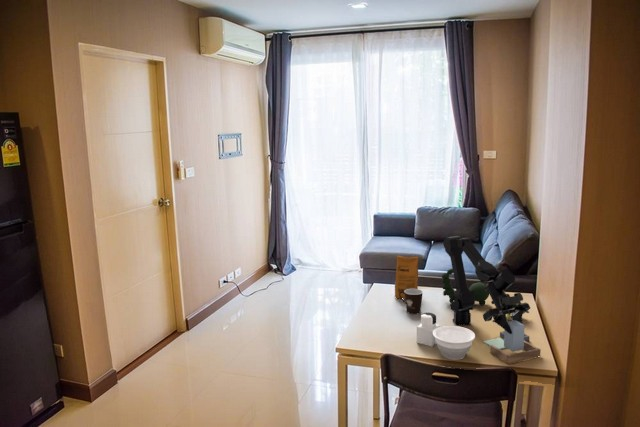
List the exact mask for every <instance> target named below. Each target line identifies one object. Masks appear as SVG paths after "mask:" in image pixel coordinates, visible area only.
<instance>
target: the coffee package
mask: <svg viewBox="0 0 640 427" xmlns="http://www.w3.org/2000/svg"><path fill="white" fill-rule="evenodd" d="M418 266H419V257H418V256H409V257H406V256H402V255H397V258H396V271H395V281H394V297H396V298H400V296H399V293H400V292H401V291H403V292H404V291H405V290H407V289H419V288H418V283H419V281H418V280H419V267H418ZM400 295H401V297H402V298H403V300H405V294H404V293H401V294H400ZM396 298H395V299H396Z"/></svg>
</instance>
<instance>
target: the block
mask: <svg viewBox="0 0 640 427" xmlns="http://www.w3.org/2000/svg"><path fill="white" fill-rule="evenodd" d="M507 322H508V324H509V326H510V329H511V331H512V334H509V333H508V332H507V331H506V330H504V329H503V330H504V339H503V340H504V347H506V349H507V350H509V351H511V352H512V353H513V352H518V351H522V350H525V349H524V334H525V326H526V324H524V323H523V324H522V323H520V322H518V321H516V320H513V321H512V320H510V321H507Z"/></svg>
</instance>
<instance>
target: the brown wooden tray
mask: <svg viewBox="0 0 640 427" xmlns="http://www.w3.org/2000/svg"><path fill="white" fill-rule="evenodd" d="M523 350H525V351H522V352H521V351H520V352H516V353H512V354H508V353H507V352H505V351H503V349H501V350H500V349H498V348H497V347H495V346H493V345H490V346H489V353H490V354H491V355H493V356H495V357H496V358H498V359H499V360H501V361H502V362H505V363H506V364H507V365H510V364H514V363H515V364H516V363H519V362H524V361H528V359H529V360H532V358H533V359H536V358H535V357H537V358H539V357H538V356H540V357H541V351H542V350H541V348H539V347H537V346H535V345H533V344H532V343H529V341H527V342H526V341H524V349H523Z"/></svg>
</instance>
